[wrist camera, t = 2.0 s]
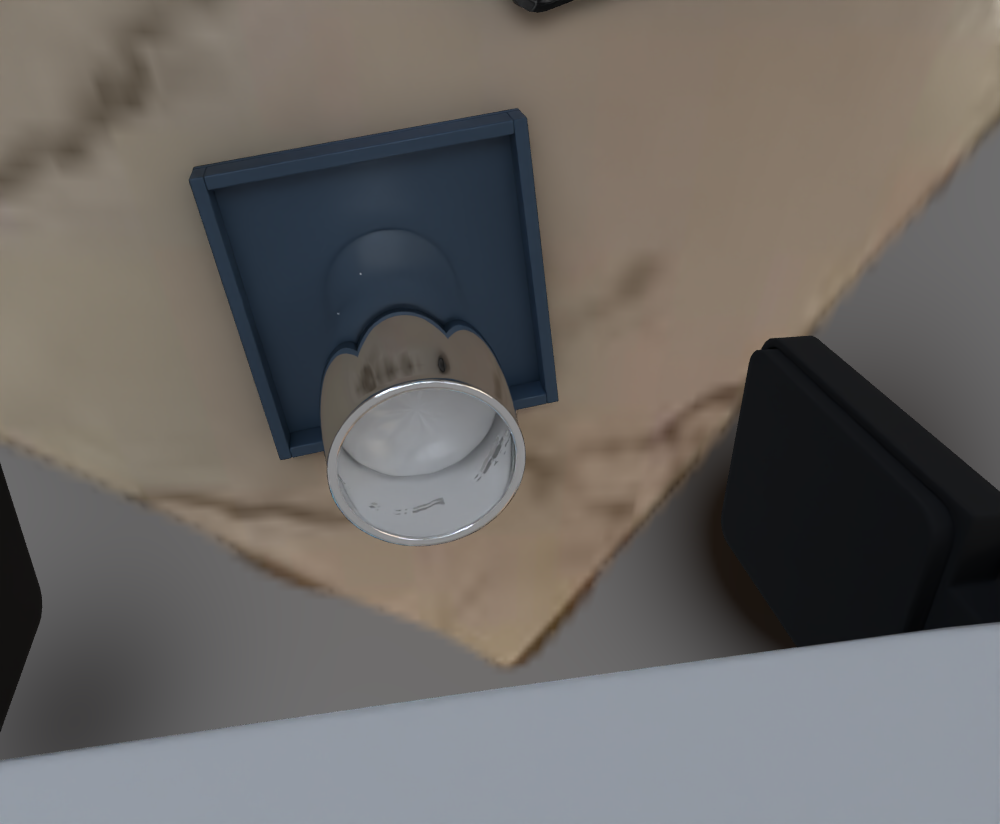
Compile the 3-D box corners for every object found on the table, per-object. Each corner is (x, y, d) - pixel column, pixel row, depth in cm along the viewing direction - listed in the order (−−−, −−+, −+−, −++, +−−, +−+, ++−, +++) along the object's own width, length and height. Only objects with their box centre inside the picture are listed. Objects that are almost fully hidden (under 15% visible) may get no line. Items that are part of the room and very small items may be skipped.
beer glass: (476, 229, 40) (553, 385, 28) (450, 362, 44) (508, 555, 31) (324, 208, 39) (332, 364, 26) (308, 348, 42) (309, 547, 29)
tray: (518, 107, 38) (527, 117, 37) (549, 383, 46) (558, 401, 44) (193, 166, 37) (188, 179, 36) (281, 440, 45) (280, 460, 43)
